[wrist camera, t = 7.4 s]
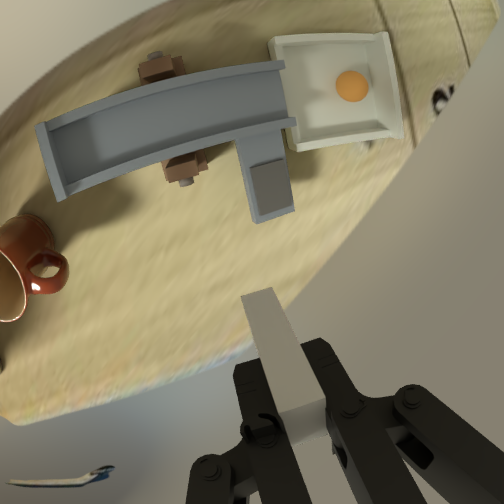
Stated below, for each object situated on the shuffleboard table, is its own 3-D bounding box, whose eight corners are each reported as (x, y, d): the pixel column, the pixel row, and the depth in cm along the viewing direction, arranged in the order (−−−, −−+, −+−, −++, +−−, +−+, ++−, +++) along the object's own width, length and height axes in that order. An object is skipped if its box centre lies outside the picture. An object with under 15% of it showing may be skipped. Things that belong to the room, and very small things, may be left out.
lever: (99, 278, 25) (97, 294, 22) (44, 126, 18) (34, 125, 16) (298, 205, 30) (315, 213, 27) (272, 63, 24) (288, 58, 21)
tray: (288, 148, 31) (302, 154, 27) (266, 42, 25) (278, 32, 21) (381, 133, 31) (404, 138, 27) (365, 38, 26) (387, 31, 22)
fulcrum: (103, 197, 29) (80, 222, 23) (74, 96, 24) (42, 94, 17) (207, 165, 30) (211, 181, 23) (182, 59, 25) (178, 42, 18)
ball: (372, 101, 25) (368, 100, 28) (367, 68, 24) (364, 70, 26) (338, 104, 26) (338, 102, 29) (332, 71, 25) (332, 73, 28)
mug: (10, 268, 30) (-28, 314, 21) (2, 202, 26) (-48, 237, 17) (89, 278, 33) (63, 334, 24) (87, 208, 29) (49, 248, 20)
